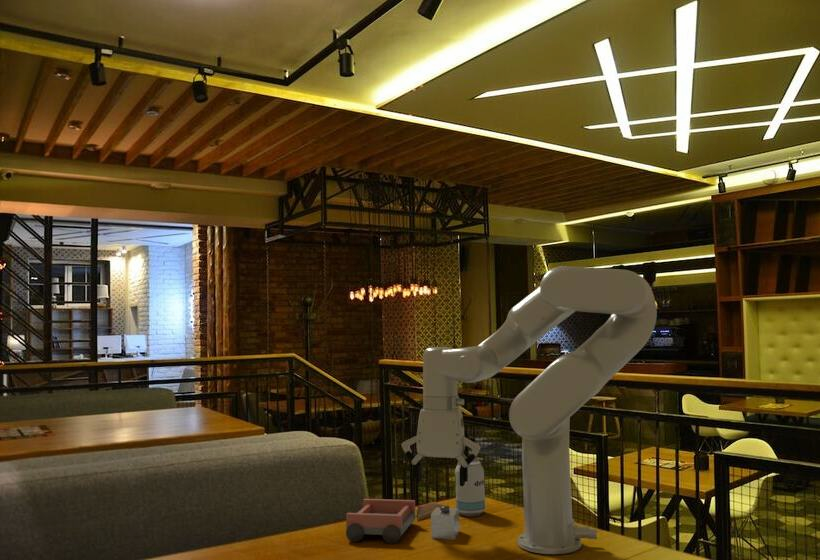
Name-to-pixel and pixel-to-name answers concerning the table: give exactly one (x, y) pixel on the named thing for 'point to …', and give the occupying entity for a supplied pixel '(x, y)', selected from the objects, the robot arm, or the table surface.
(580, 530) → the robot arm
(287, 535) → the table surface
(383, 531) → the chassis
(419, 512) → the shard
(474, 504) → the beverage can
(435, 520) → the cube with metal knob
